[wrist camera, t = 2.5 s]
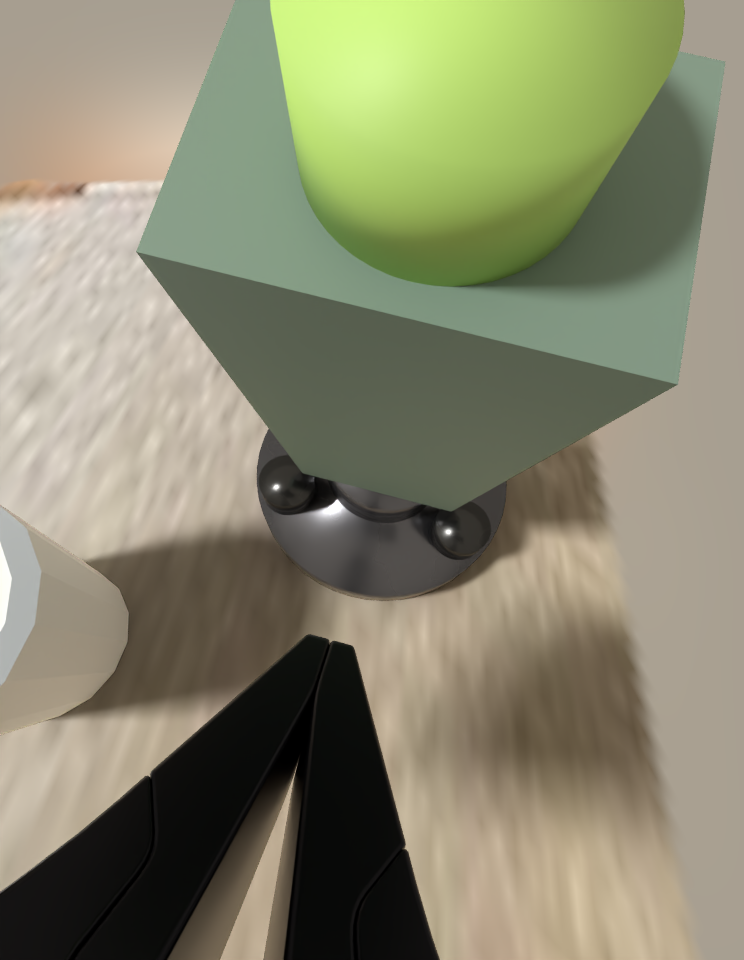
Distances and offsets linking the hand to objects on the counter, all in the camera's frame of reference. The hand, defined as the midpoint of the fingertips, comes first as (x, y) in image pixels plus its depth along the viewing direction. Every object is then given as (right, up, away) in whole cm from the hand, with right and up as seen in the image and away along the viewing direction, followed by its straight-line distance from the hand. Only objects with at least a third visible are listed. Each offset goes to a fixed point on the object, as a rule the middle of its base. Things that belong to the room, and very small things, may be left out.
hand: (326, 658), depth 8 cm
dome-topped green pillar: (+2, +5, +10) cm, 12 cm away
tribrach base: (+1, +3, +13) cm, 13 cm away
